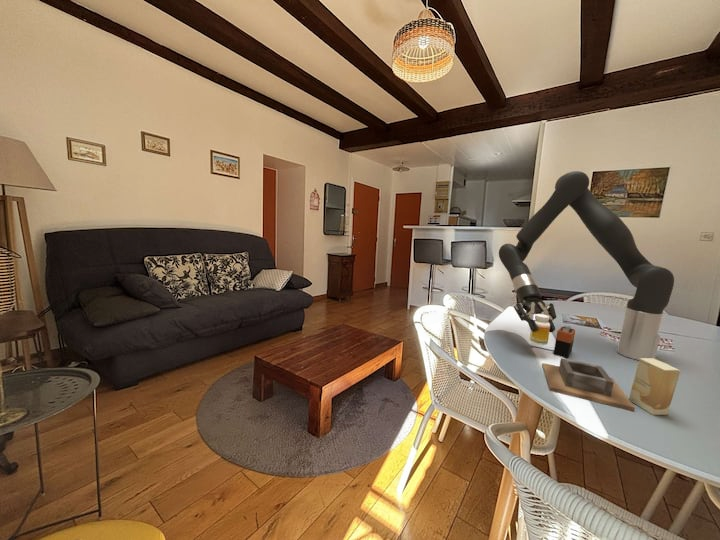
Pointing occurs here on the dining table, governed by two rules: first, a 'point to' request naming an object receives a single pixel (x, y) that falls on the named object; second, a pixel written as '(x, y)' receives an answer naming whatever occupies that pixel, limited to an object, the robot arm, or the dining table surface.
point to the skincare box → (654, 386)
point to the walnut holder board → (585, 383)
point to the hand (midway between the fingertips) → (544, 331)
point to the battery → (564, 341)
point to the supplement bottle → (541, 330)
